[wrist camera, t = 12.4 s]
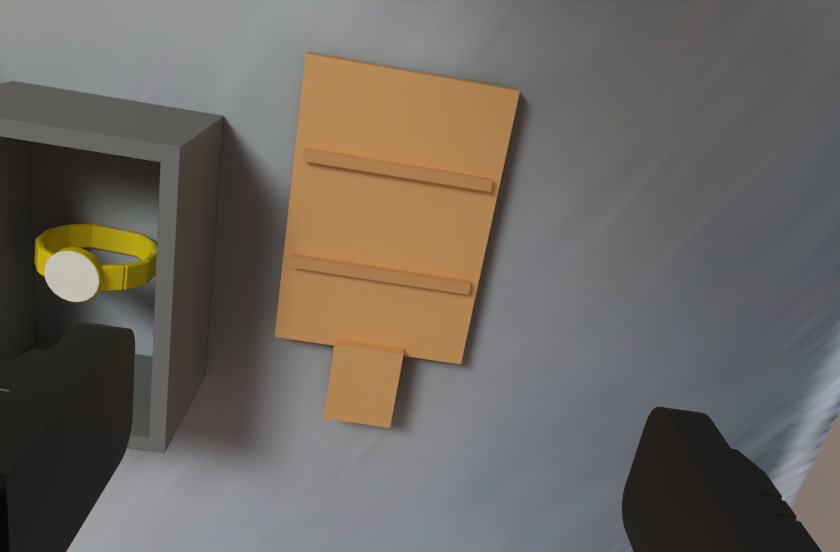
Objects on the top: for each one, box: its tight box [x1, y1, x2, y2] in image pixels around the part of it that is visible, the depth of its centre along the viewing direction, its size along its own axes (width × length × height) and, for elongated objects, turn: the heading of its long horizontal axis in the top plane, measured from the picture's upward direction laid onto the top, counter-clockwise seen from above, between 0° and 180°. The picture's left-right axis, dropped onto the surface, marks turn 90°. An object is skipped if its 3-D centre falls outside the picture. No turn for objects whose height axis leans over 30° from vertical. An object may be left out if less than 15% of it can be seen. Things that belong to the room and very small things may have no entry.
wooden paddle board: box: [274, 52, 520, 428], centre depth 42 cm, size 20×11×3 cm, turn 170°
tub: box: [0, 81, 224, 453], centre depth 38 cm, size 16×11×8 cm
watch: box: [34, 223, 157, 302], centre depth 39 cm, size 6×3×6 cm, turn 77°
